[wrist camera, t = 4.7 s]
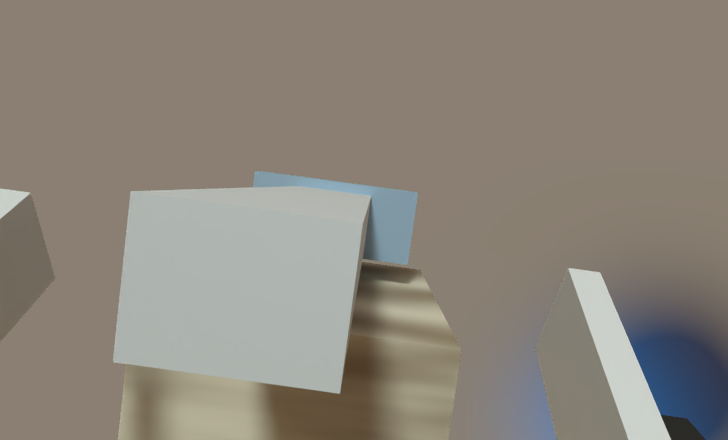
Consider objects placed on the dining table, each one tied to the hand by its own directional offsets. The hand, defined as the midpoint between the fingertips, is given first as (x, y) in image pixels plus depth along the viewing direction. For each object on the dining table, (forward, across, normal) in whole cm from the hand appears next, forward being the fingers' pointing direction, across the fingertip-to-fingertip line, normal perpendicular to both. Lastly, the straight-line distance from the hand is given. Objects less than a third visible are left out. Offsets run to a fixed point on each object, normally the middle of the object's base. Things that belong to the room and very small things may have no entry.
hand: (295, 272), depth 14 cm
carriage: (+7, 0, -6) cm, 10 cm away
